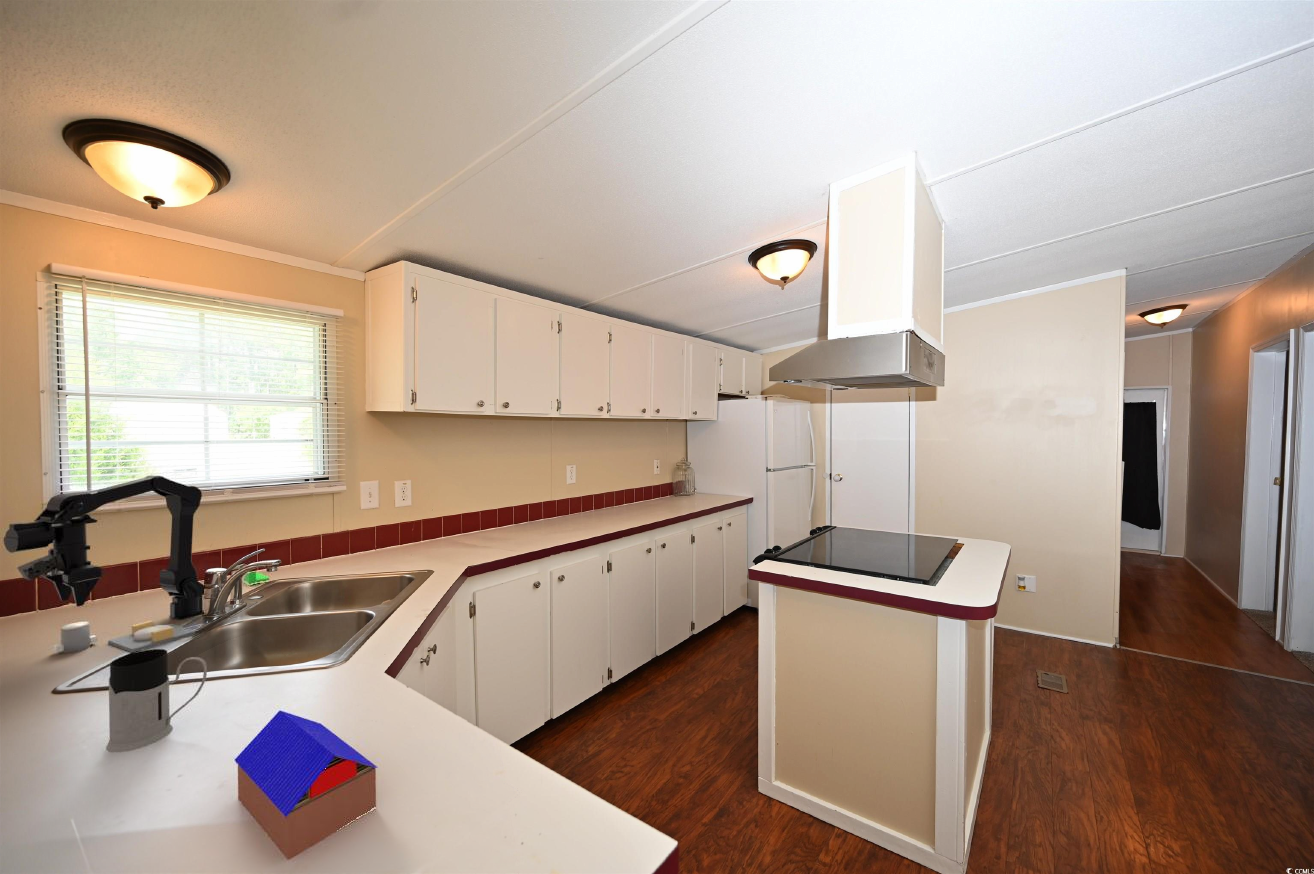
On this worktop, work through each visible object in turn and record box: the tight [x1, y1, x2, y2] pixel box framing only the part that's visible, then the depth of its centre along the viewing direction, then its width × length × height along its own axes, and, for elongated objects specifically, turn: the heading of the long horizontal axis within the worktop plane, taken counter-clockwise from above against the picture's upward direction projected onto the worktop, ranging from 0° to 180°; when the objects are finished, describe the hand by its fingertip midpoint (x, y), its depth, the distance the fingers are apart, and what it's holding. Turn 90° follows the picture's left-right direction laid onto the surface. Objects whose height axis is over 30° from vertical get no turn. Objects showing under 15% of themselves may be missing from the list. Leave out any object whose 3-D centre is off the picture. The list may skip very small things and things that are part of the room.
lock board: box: [107, 620, 196, 653], centre depth 140 cm, size 13×13×4 cm
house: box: [234, 709, 379, 861], centre depth 78 cm, size 12×20×12 cm, turn 55°
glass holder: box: [105, 648, 208, 753], centre depth 96 cm, size 9×14×15 cm, turn 112°
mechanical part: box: [244, 570, 270, 584], centre depth 192 cm, size 12×6×8 cm, turn 52°
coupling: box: [53, 621, 98, 654], centre depth 133 cm, size 7×5×6 cm
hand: (72, 603), depth 133 cm, fingers open, 9 cm apart
